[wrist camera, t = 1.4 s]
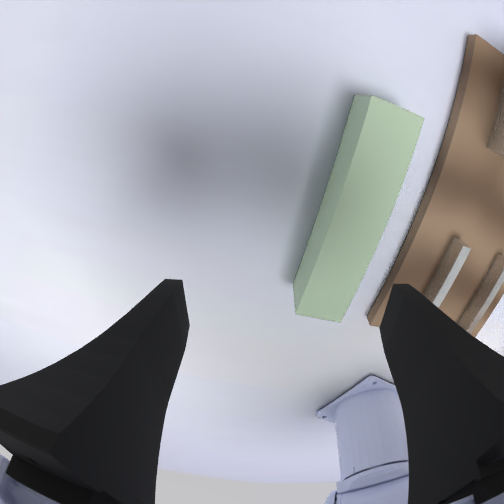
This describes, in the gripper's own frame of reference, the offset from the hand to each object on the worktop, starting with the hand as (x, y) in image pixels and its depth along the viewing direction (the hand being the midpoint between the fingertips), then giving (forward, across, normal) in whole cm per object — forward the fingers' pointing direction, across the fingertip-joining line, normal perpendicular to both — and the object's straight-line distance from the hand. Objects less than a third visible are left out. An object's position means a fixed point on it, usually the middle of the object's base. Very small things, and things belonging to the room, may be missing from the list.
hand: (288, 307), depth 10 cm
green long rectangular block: (+10, -4, 0) cm, 11 cm away
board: (+9, -15, -1) cm, 18 cm away
